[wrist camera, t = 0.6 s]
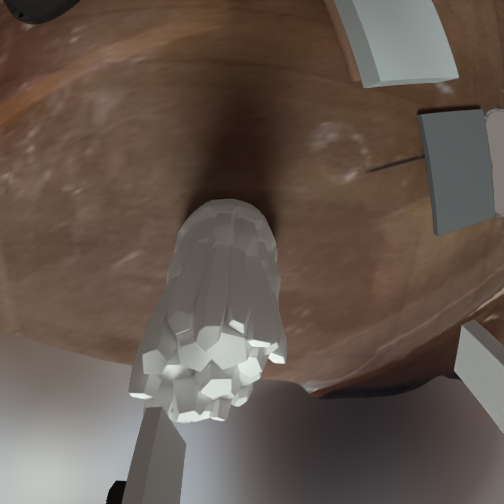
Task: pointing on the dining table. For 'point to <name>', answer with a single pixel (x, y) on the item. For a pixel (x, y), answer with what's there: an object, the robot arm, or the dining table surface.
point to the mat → (458, 168)
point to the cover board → (397, 41)
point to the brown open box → (343, 40)
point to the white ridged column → (213, 316)
